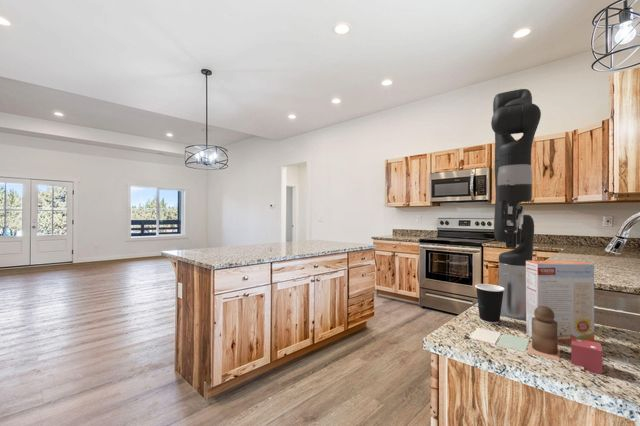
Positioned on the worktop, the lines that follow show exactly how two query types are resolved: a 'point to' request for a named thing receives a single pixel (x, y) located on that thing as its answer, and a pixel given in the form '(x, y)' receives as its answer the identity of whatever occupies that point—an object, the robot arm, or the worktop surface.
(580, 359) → the die
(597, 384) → the worktop surface
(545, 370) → the worktop surface
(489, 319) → the dixie cup
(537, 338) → the pawn
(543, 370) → the worktop surface
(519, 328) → the worktop surface
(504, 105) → the robot arm
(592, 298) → the cracker box
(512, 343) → the board
